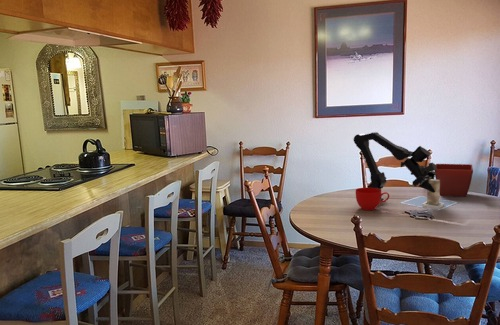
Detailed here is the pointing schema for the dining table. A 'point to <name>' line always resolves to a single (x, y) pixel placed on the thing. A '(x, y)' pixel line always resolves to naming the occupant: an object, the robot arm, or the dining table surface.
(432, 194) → the maple pillar
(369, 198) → the ceramic cup
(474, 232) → the dining table surface
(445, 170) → the plant pot
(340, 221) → the dining table surface
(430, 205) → the collar
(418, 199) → the board
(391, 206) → the dining table surface
